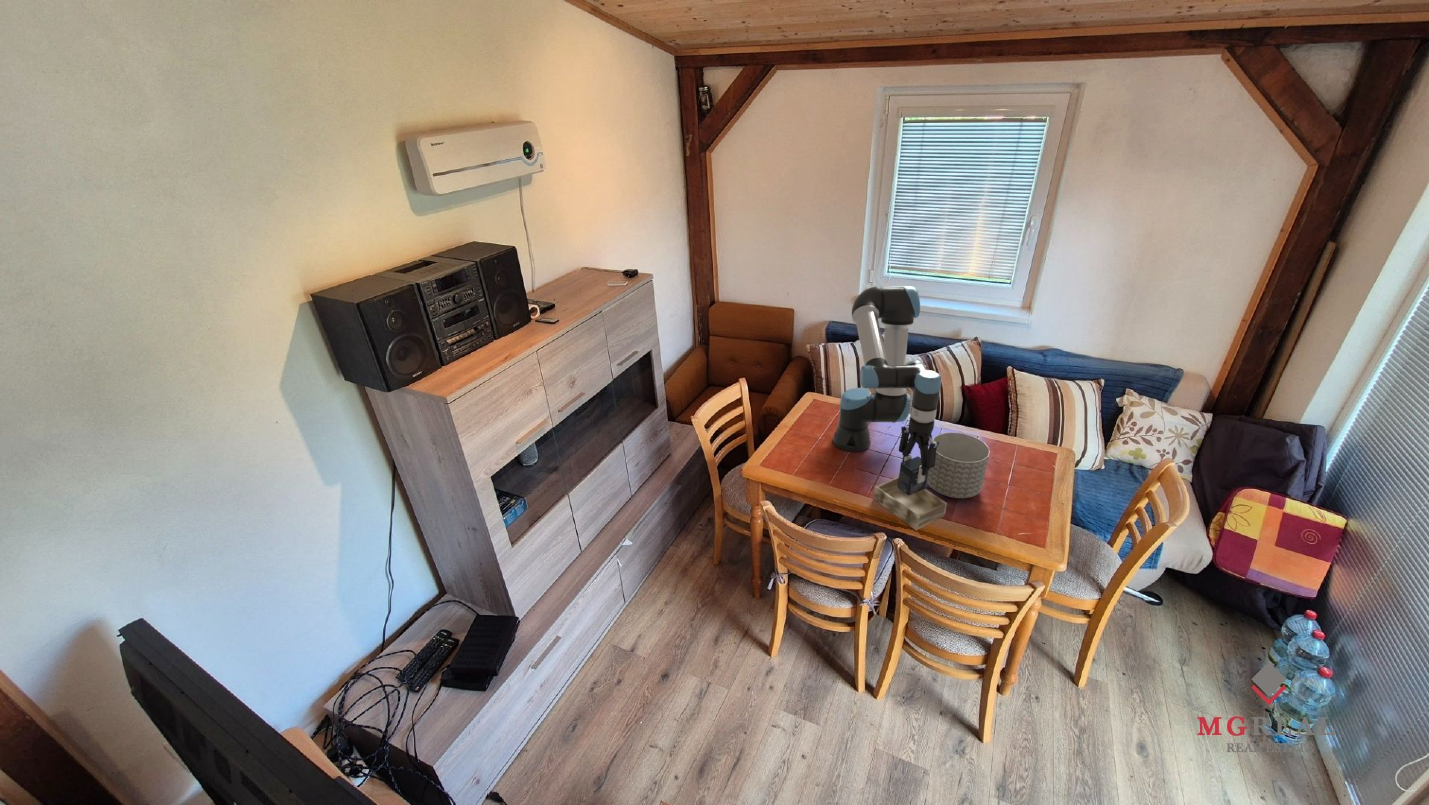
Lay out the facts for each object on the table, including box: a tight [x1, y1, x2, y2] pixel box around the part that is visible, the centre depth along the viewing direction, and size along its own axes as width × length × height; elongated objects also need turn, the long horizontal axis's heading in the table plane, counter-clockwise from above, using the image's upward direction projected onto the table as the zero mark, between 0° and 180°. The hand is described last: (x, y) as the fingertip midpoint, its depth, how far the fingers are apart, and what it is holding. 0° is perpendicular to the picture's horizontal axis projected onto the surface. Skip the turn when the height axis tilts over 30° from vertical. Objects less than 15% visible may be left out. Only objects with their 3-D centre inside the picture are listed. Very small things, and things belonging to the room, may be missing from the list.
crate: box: [873, 475, 948, 531], centre depth 195 cm, size 20×14×6 cm
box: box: [897, 456, 929, 496], centre depth 189 cm, size 8×6×11 cm
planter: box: [926, 431, 991, 499], centre depth 200 cm, size 19×19×18 cm
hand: (913, 476), depth 190 cm, fingers closed on box, 6 cm apart
